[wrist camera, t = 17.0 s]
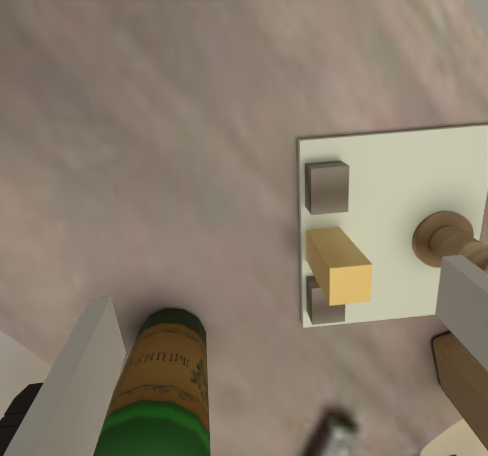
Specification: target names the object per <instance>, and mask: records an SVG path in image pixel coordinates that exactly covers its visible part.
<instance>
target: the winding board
mask: <svg viewBox="0 0 488 456" xmlns="http://www.w3.org/2000/svg"><path fill="white" fill-rule="evenodd" d="M340 160H341V161H342V162H344V163H346V164H347V165H349V166H350V167H349V200H348V212H340V213H329V214H318V215H311V214H310V213H309V211H308V210H307V209H306V207H305V163H317V162H329V161H340ZM298 188H299V239H300V289H301V323H302V326H303V328H305V327H315V326H325V325H335V324H345V323H355V322H365V321H375V320H385V319H395V318H405V317H415V316H425V315H435V310H436V303H437V295H438V287H439V279H440V271H441V268H436V267H431V266H428V265H426V264H424V263H423V262H422V261H421V260H420V259H418V258H417V256H416V255H415V254H414V252H413V249H412V237H413V234H414V232H415V230H416V228H417V226H418V225H419V224H420V223H421V222H422V221H423V220H424V219H425V218H426V217H428V216H429V215H431V214H433V213H436V212H439V211H453V212H456V213H458V214H460V215H462V216H464V217H465V218H466V219H468V220H469V222H470V223H471V225H472V227H473V231H474V238H475V239H477V240H478V241H479V238H480V232H481V226H482V220H483V214H484V208H485V202H486V196H487V190H488V124H480V125H467V126H455V127H443V128H431V129H419V130H406V131H394V132H382V133H370V134H357V135H345V136H333V137H321V138H309V139H298ZM334 227H340V228H341V229H342V230H343V232H344V233H345V234H346V235H347V236H348V237H349V238H350V239H351V241H352V242H353V243H354V244H355V245H356V246H357V247H358V249H359V250H360V251H361V252H362V253H363V254H364V255H365V256H366V258H367V259H368V260H369V261H370V262H371V263H372V264H373V265H372V283H371V301H370V302H362V303H352V304H345V322H336V323H326V324H316V325H312V323H311V321H310V318H309V316H308V313H307V299H306V276H314V275H313V273H312V271H311V269H310V267H309V265H308V263H307V261H306V230H312V229H323V228H334Z"/></svg>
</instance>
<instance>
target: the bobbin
mask: <svg viewBox="0 0 488 456" xmlns="http://www.w3.org/2000/svg"><path fill="white" fill-rule="evenodd" d="M412 249H413V252H414V254H415V255H416V256H417V258H418V259H420V260H421V261H422V262H423V263H424V264H426V265H428V266H431V267H436V268H441V263H442V257H444V256H453V255H463V256H464V257H465V258H467V259H468V260H469V261H471V262H472V263H474V264H475V265H476V266H478V267H479V268H480V269H482V270H483V271H485V272H486V273H487V274H488V246H487V245H485V244H484V243H482V242H480V241H478V240H477V239H475V238H474V231H473V227H472V225H471V223H470V222H469V220H468V219H466V218H465V217H464V216H462V215H460V214H458V213H456V212H453V211H439V212H436V213H433V214H431V215H429V216H428V217H426V218H425V219H424V220H423V221H422V222H421V223H420V224H419V225H418V226H417V228H416V230H415V232H414V234H413V237H412Z"/></svg>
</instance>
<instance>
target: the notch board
mask: <svg viewBox="0 0 488 456" xmlns="http://www.w3.org/2000/svg"><path fill="white" fill-rule="evenodd" d="M349 167H350V166H349V165H347V164H346V163H344V162H342V161H341V160H340V161H329V162H317V163H305V207H306V209H307V210H308V211H309V213H310V214H311V215H318V214H329V213H340V212H348V200H349ZM306 299H307V313H308V316H309V318H310V321H311V323H312V325H316V324H326V323H336V322H345V304H342V305H332V306H329V304H328V302H327V300H326V298H325V296H324V294H323V292H322V290H321V288H320V286H319V284H318V282H317V280H316V279H315V277H314V276H306Z"/></svg>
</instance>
